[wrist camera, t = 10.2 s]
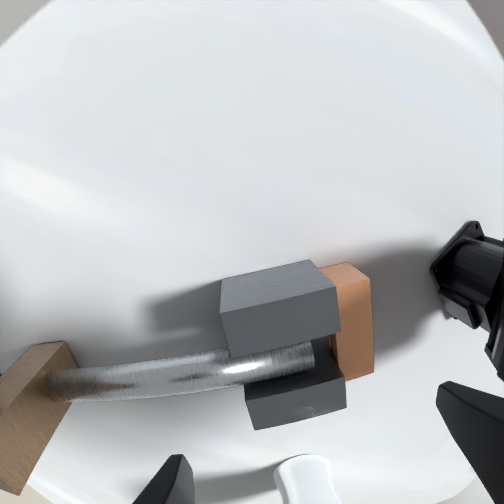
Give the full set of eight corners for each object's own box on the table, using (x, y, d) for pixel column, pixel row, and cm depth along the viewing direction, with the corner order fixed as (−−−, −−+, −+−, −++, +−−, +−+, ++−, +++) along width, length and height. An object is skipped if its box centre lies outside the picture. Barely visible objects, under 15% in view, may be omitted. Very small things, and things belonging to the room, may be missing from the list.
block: (309, 259, 21) (335, 286, 15) (324, 363, 23) (346, 407, 17) (221, 279, 20) (219, 313, 15) (249, 381, 22) (254, 430, 17)
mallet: (293, 298, 21) (367, 438, 8) (301, 347, 21) (363, 492, 9) (32, 345, 20) (-54, 436, 7) (51, 383, 21) (-17, 481, 8)
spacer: (346, 261, 21) (369, 278, 17) (354, 345, 22) (373, 372, 19) (313, 270, 21) (330, 288, 17) (324, 354, 22) (340, 383, 19)
